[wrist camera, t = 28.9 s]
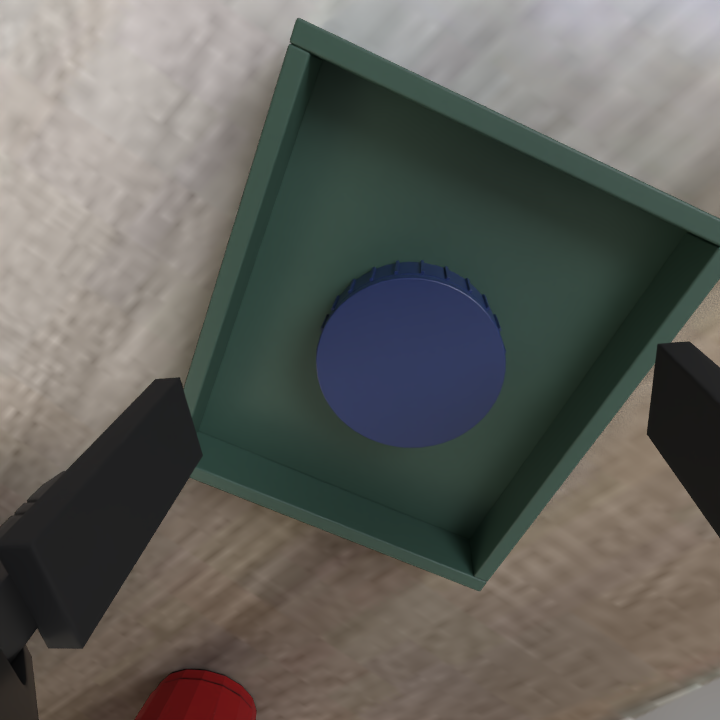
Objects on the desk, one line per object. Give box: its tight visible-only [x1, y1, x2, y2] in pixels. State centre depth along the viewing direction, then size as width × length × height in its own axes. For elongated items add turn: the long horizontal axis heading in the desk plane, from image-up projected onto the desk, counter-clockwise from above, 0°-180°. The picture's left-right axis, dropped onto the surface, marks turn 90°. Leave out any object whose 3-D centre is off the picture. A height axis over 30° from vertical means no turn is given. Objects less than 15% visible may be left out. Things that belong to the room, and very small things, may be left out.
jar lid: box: [316, 260, 506, 448], centre depth 18 cm, size 6×6×2 cm
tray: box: [183, 18, 720, 591], centre depth 18 cm, size 15×13×2 cm
